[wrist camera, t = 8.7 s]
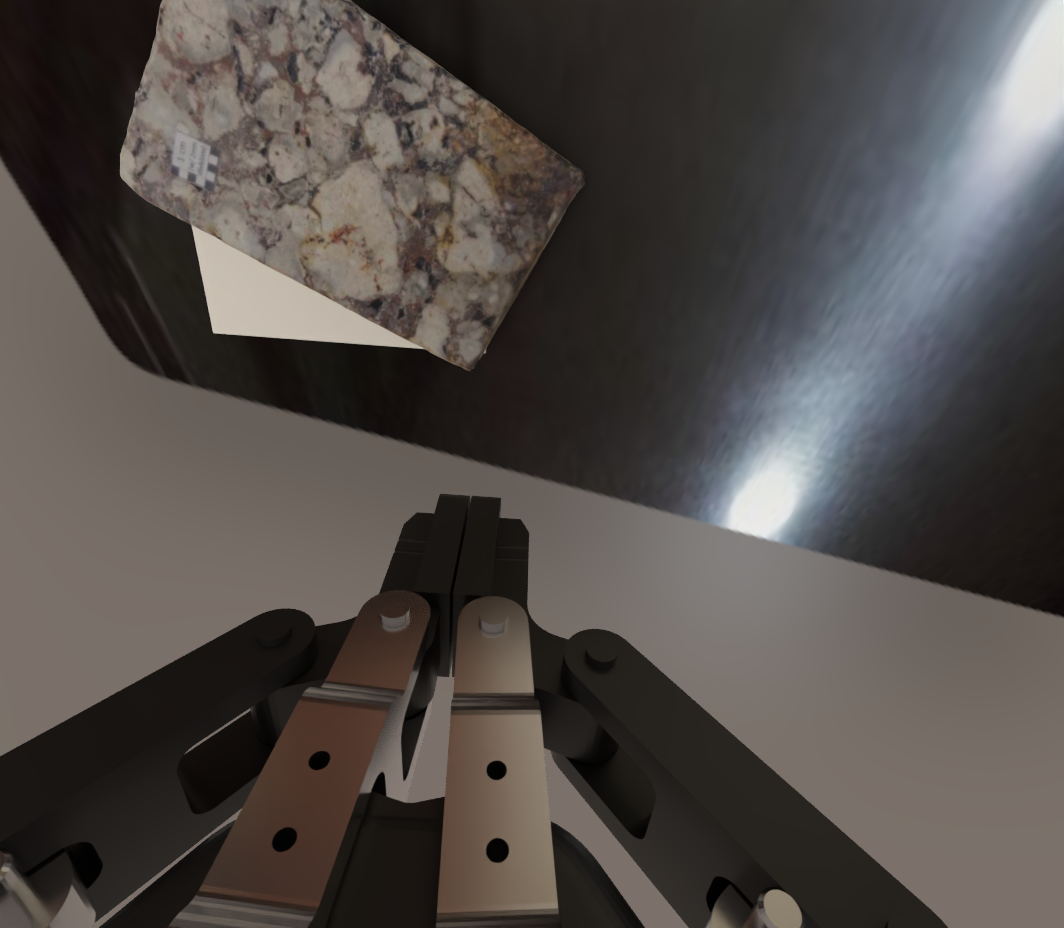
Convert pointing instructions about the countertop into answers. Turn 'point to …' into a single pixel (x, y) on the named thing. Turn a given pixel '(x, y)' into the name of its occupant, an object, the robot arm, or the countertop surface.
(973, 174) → the countertop surface
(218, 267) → the mat
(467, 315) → the stone block
